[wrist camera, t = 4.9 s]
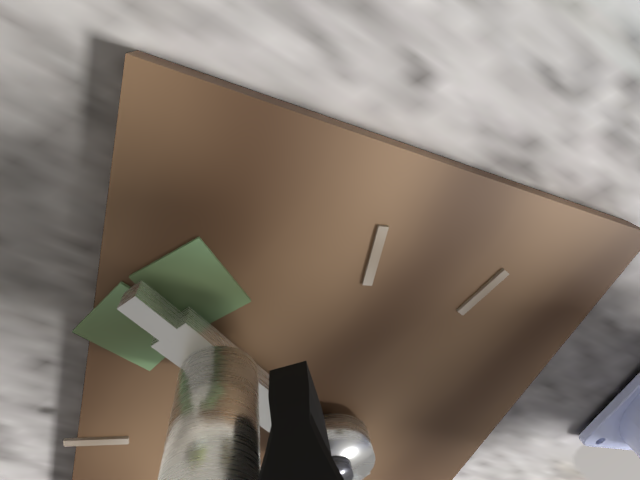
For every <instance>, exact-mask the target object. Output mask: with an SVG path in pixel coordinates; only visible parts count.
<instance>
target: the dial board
mask: <svg viewBox="0 0 640 480" xmlns="http://www.w3.org/2000/svg"><path fill="white" fill-rule="evenodd" d="M639 251H640V228H639V227H637V226H636V225H634V224H632V223H630V222H628V221H625V220H623V219H620V218H617V217H614V216H611V215H608V214H605V213H603V212H600V211H597V210H594V209H591V208H588V207H585V206H582V205H580V204H577V203H574V202H571V201H568V200H565V199H562V198H560V197H557V196H554V195H551V194H548V193H545V192H542V191H540V190H537V189H534V188H531V187H528V186H525V185H522V184H519V183H517V182H514V181H511V180H508V179H505V178H502V177H499V176H497V175H494V174H491V173H488V172H485V171H482V170H479V169H476V168H474V167H471V166H468V165H465V164H462V163H459V162H456V161H454V160H451V159H448V158H445V157H442V156H439V155H436V154H433V153H431V152H428V151H425V150H422V149H419V148H416V147H413V146H411V145H408V144H405V143H402V142H399V141H396V140H393V139H391V138H388V137H385V136H382V135H379V134H376V133H373V132H370V131H368V130H365V129H362V128H359V127H356V126H353V125H350V124H348V123H345V122H342V121H339V120H336V119H333V118H330V117H327V116H325V115H322V114H319V113H316V112H313V111H310V110H307V109H305V108H302V107H299V106H296V105H293V104H290V103H287V102H284V101H282V100H279V99H276V98H273V97H270V96H267V95H264V94H262V93H259V92H256V91H253V90H250V89H247V88H244V87H242V86H239V85H236V84H233V83H230V82H227V81H224V80H221V79H219V78H216V77H213V76H210V75H207V74H204V73H201V72H199V71H196V70H193V69H190V68H187V67H184V66H181V65H178V64H176V63H173V62H170V61H167V60H164V59H161V58H158V57H156V56H153V55H150V54H147V53H144V52H141V51H138V50H137V51H133V52H129V53H126V54H125V62H124V70H123V78H122V85H121V93H120V101H119V109H118V117H117V125H116V133H115V141H114V149H113V157H112V165H111V173H110V181H109V189H108V197H107V205H106V213H105V221H104V229H103V237H102V245H101V253H100V261H99V269H98V277H97V285H96V293H95V301H94V309H93V310H92V311H91V312H90V313H89V314H88V315H87V316H86V317H85V318H84V319H83V320H82V321H81V322H80V323H79V324H78V326H77V327H76V328H75V329H74V330H73V331H72V332H73V333H75V334H77V335H79V336H81V337H83V338H85V339H87V340H89V348H88V356H87V364H86V372H85V380H84V388H83V396H82V404H81V412H80V420H79V428H78V436H77V438H64V440H63V445H64V447H71V446H76V452H75V460H74V468H73V476H72V480H158V475H159V470H160V465H161V460H162V455H163V450H164V445H165V440H166V435H167V430H168V425H169V420H170V415H171V410H172V405H173V400H174V395H175V390H176V385H177V379H178V374H179V370H180V367H178V366H177V365H175V364H174V363H173V362H171V361H170V360H169V359H167V358H166V357H164V356H163V355H162V354H160V353H159V352H158V351H156V350H155V349H153V348H152V347H151V344H152V340H153V337H154V336H152V335H151V334H150V333H148V332H147V331H145V330H144V329H143V328H141V327H140V326H139V325H137V324H136V323H135V322H133V321H132V320H131V319H129V318H128V317H127V316H125V315H124V314H123V313H121V312H120V311H119V310H117V307H118V305H119V303H120V301H121V298H122V296H123V294H124V292H125V291H126V290H128V289H129V288H131V287H132V286H133V285H135V284H136V283H138V282H139V281H141V280H143V281H144V282H145V283H147V284H148V285H149V286H150V287H151V288H153V289H154V290H155V291H156V292H157V293H159V294H160V295H161V296H162V297H163V298H165V299H166V300H167V301H168V302H170V303H171V304H172V305H173V306H174V307H176V308H177V309H178V310H179V311H180V312H181V311H183V310H184V309H186V308H187V307H189V306H190V307H191V308H192V309H193V310H194V311H195V312H197V313H198V314H199V315H200V316H201V317H203V318H204V319H205V320H206V321H207V322H208V323H210V324H211V325H212V326H213V327H214V328H216V329H217V330H218V331H219V332H220V333H221V334H223V335H224V336H225V337H226V338H227V339H229V340H230V341H231V342H232V343H233V344H234V345H236V346H237V347H238V348H239V349H240V350H242V351H244V352H246V353H247V354H249V355H250V356H251V357H252V358H253V359H254V361H255V362H256V363H257V364H258V365H259V366H260V367H262V368H263V369H264V370H265V371H266V372H267V373H269V372H270V370H274V369H277V368H281V367H285V366H288V365H292V364H296V363H299V362H303V361H307V364H308V367H309V371H310V374H311V377H312V380H313V383H314V386H315V389H316V392H317V395H318V398H319V401H320V404H321V407H322V411H323V415H324V414H332V413H341V414H348V415H352V416H354V417H357V418H358V419H360V420H361V421H362V422H363V423H364V424H365V425H366V427H367V430H368V433H369V437H370V440H371V443H372V447H373V450H374V454H375V464H374V467H373V468H372V470H371V471H370V473H371V474H369V475H367V476H366V477H365V478H364V479H362V480H452V479H453V478H454V477H455V476H456V474H457V473H458V472H459V471H460V469H461V468H462V467H463V466H464V465H465V463H466V462H467V461H468V460H469V458H470V457H471V456H472V455H473V454H474V452H475V451H476V450H477V449H478V447H479V446H480V445H481V444H482V443H483V441H484V440H485V439H486V438H487V437H488V435H489V434H490V433H491V432H492V430H493V429H494V428H495V427H496V426H497V424H498V423H499V422H500V421H501V419H502V418H503V417H504V416H505V415H506V413H507V412H508V411H509V410H510V408H511V407H512V406H513V405H514V404H515V402H516V401H517V400H518V399H519V397H520V396H521V395H522V394H523V393H524V391H525V390H526V389H527V388H528V386H529V385H530V384H531V383H532V382H533V380H534V379H535V378H536V377H537V375H538V374H539V373H540V372H541V371H542V369H543V368H544V367H545V366H546V365H547V363H548V362H549V361H550V360H551V358H552V357H553V356H554V355H555V354H556V352H557V351H558V350H559V349H560V347H561V346H562V345H563V344H564V343H565V341H566V340H567V339H568V338H569V336H570V335H571V334H572V333H573V332H574V330H575V329H576V328H577V327H578V325H579V324H580V323H581V322H582V321H583V319H584V318H585V317H586V316H587V314H588V313H589V312H590V311H591V310H592V308H593V307H594V306H595V305H596V303H597V302H598V301H599V300H600V299H601V297H602V296H603V295H604V294H605V292H606V291H607V290H608V289H609V288H610V286H611V285H612V284H613V283H614V282H615V280H616V279H617V278H618V277H619V275H620V274H621V273H622V272H623V271H624V269H625V268H626V267H627V266H628V264H629V263H630V262H631V261H632V260H633V258H634V257H635V256H636V255H637V253H638V252H639ZM268 437H269V432H268V431H266V430H265V429H264V428H262V427H261V426H260V459H261V465H262V462H263V458H264V454H265V450H266V446H267V442H268Z"/></svg>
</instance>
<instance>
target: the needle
mask: <svg viewBox="0 0 640 480" xmlns="http://www.w3.org/2000/svg"><path fill="white" fill-rule="evenodd" d="M117 310H119V311H120V312H121V313H123V314H124V315H125V316H127V317H128V318H129V319H131V320H132V321H133V322H135V323H136V324H137V325H139V326H140V327H141V328H143V329H144V330H145V331H147V332H148V333H150V334H151V335H152V336H154V337H153V340H152V344H151V347H152V348H153V349H155V350H156V351H158V352H159V353H160V354H162V355H163V356H164V357H166V358H167V359H169V360H170V361H171V362H173V363H174V364H175V365H177V366H178V367H180V370H179V374H178V379H177V385H176V390H175V395H174V400H173V405H172V410H171V415H170V420H169V425H168V430H167V435H166V440H165V445H164V450H163V455H162V460H161V465H160V470H159V475H158V480H257V479H258V476H259V472H260V469H261V459H260V426H261V427H262V428H264V429H265V430H266V431H268V432H269V433H270V429H271V417H270V408H269V399H268V391H269V373H267V372H266V371H265V370H264V369H263V368H262V367H260V366H259V365H258V364H257V363H256V362H255V361H254V359H253V358H252V357H251V356H250V355H249V354H247V353H246V352H244V351H242V350H240V349H239V348H238V347H237V346H236V345H234V344H233V343H232V342H231V341H230V340H229V339H227V338H226V337H225V336H224V335H223V334H221V333H220V332H219V331H218V330H217V329H216V328H214V327H213V326H212V325H211V324H210V323H208V322H207V321H206V320H205V319H204V318H203V317H201V316H200V315H199V314H198V313H197V312H195V311H194V310H193V309H192V308H191V307H190V306H189V307H187V308H186V309H184V310H183V311H181V312H180V311H179V310H178V309H177V308H176V307H174V306H173V305H172V304H171V303H170V302H168V301H167V300H166V299H165V298H163V297H162V296H161V295H160V294H159V293H157V292H156V291H155V290H154V289H153V288H151V287H150V286H149V285H148V284H147V283H145V282H144V281H143V280H141V281H139V282H138V283H136V284H135V285H133V286H132V287H131V288H129V289H128V290H126V291H125V292H124V294H123V296H122V298H121V301H120V303H119V305H118V307H117ZM323 416H324V420H325V425H326V430H327V434H328V439H329V444H330V449H331V456H332V458H333V460H334V462H335V464H336V466H337V467H338V469H339V471H340V473H341V475H342V477H343V478H344V480H362V479H364V478H365V477H366V476H367V475H369V474H371V473H370V471H371V470H372V468H373V467H374V464H375V454H374V450H373V447H372V443H371V440H370V437H369V433H368V430H367V427H366V425H365V424H364V423H363V422H362V421H361V420H360V419H358V418H357V417H354V416H352V415H348V414H341V413H332V414H324V415H323Z"/></svg>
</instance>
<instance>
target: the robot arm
mask: <svg viewBox="0 0 640 480" xmlns="http://www.w3.org/2000/svg"><path fill="white" fill-rule="evenodd" d="M268 399H269V408H270V417H271V429H270V433H269V437H268V442H267V446H266V450H265V454H264V458H263V462H262V465H261V469H260V472H259V476H258V479H257V480H344V478H343V477H342V475H341V473H340V471H339V469H338V467H337V466H336V464H335V462H334V460H333V458H332V456H331V449H330V444H329V439H328V434H327V430H326V425H325V420H324V416H323V411H322V407H321V404H320V401H319V398H318V395H317V392H316V389H315V386H314V383H313V380H312V377H311V374H310V371H309V367H308V364H307V361H303V362H299V363H296V364H292V365H288V366H285V367H281V368H277V369H274V370H270V372H269V391H268ZM579 439H580V440H581V442H582V443H583V444H584V445H586V446H592V447H605V448H614V449H625V450H633V451H634V452H635V453H636V454H637V455H638V457H639V458H640V372H639V373H638V374H637V375H636V376H635V377H634V379H633V380H632V381H631V382H630V383H629V384H628V385H627V386H626V387H625V388H624V389H623V390H622V391H621V392H620V393H619V394H618V395H617V396H616V397H615V398H614V399H613V400H612V401H611V402H610V403H609V404H608V405H607V406H606V407H605V408H604V409H603V410H602V411H601V413H600V414H599V415H598V416H597V417H596V418H595V419H594V420H593V421H592V422H591V423H590V424H589V425H588V426H587V427H586V428H585V429H584V430H583V431H582V432H581V433H580V435H579Z"/></svg>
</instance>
